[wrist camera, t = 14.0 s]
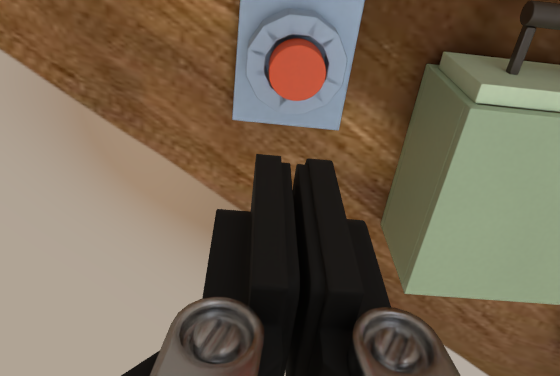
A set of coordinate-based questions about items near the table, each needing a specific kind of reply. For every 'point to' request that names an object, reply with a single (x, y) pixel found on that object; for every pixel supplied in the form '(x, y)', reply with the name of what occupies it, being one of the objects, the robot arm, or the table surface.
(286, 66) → the red switch button
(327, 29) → the switch box
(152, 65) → the table surface
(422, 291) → the bedside cabinet
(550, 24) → the shelf drawer
